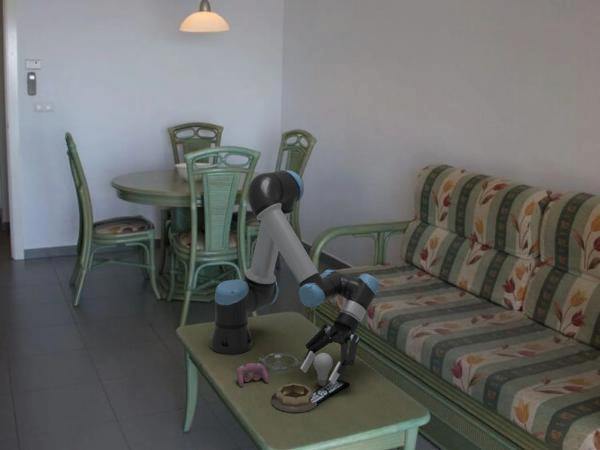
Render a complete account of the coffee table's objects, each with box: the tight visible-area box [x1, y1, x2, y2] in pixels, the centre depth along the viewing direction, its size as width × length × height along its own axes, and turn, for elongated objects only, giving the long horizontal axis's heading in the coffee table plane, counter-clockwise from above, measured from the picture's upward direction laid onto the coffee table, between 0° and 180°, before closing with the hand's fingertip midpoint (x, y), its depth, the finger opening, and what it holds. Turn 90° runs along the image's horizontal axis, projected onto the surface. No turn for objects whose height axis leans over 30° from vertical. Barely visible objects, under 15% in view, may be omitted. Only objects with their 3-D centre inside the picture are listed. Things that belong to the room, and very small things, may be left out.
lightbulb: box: [312, 352, 334, 387], centre depth 218 cm, size 6×6×11 cm
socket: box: [270, 383, 318, 414], centre depth 208 cm, size 14×14×4 cm
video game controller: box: [235, 362, 269, 388], centre depth 221 cm, size 10×5×7 cm, turn 112°
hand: (316, 376), depth 216 cm, fingers open, 11 cm apart
